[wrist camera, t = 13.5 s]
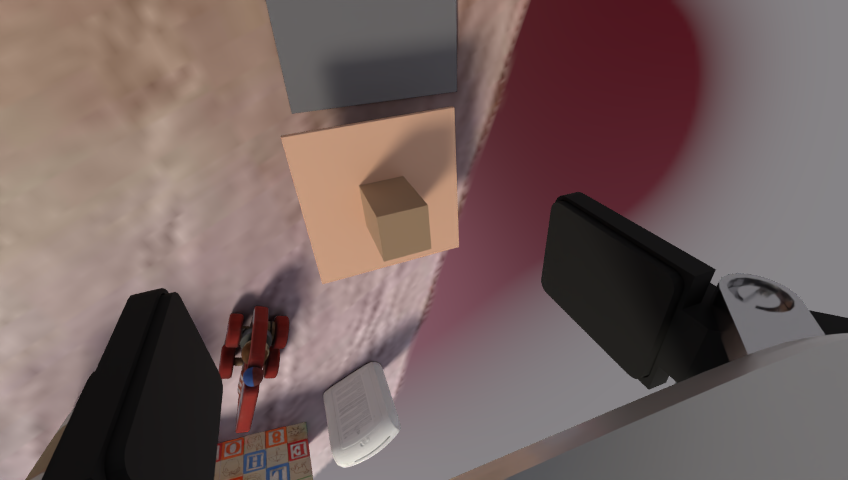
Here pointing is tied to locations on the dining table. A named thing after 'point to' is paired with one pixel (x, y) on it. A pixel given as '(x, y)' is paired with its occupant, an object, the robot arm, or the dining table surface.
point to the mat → (364, 50)
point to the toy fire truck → (252, 357)
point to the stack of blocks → (266, 456)
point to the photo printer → (360, 415)
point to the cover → (377, 190)
